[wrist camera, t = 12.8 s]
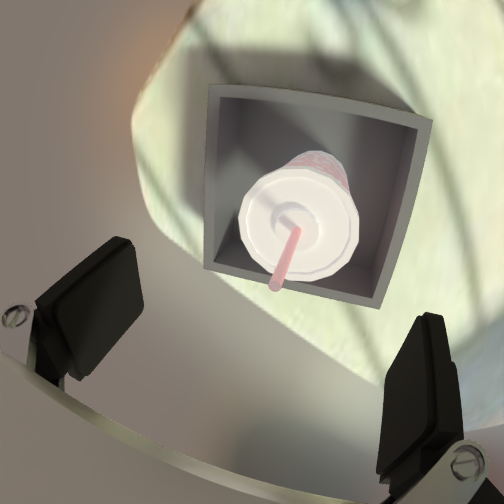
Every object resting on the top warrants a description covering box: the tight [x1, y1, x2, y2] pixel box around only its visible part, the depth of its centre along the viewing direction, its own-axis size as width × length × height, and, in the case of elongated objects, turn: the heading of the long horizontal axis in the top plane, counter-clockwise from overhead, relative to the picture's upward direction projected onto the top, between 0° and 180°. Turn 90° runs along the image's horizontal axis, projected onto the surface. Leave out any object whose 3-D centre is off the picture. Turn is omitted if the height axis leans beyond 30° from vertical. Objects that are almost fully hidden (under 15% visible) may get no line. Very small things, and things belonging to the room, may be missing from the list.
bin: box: [204, 84, 433, 309], centre depth 22 cm, size 14×14×5 cm
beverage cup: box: [238, 151, 359, 292], centre depth 17 cm, size 6×6×14 cm
